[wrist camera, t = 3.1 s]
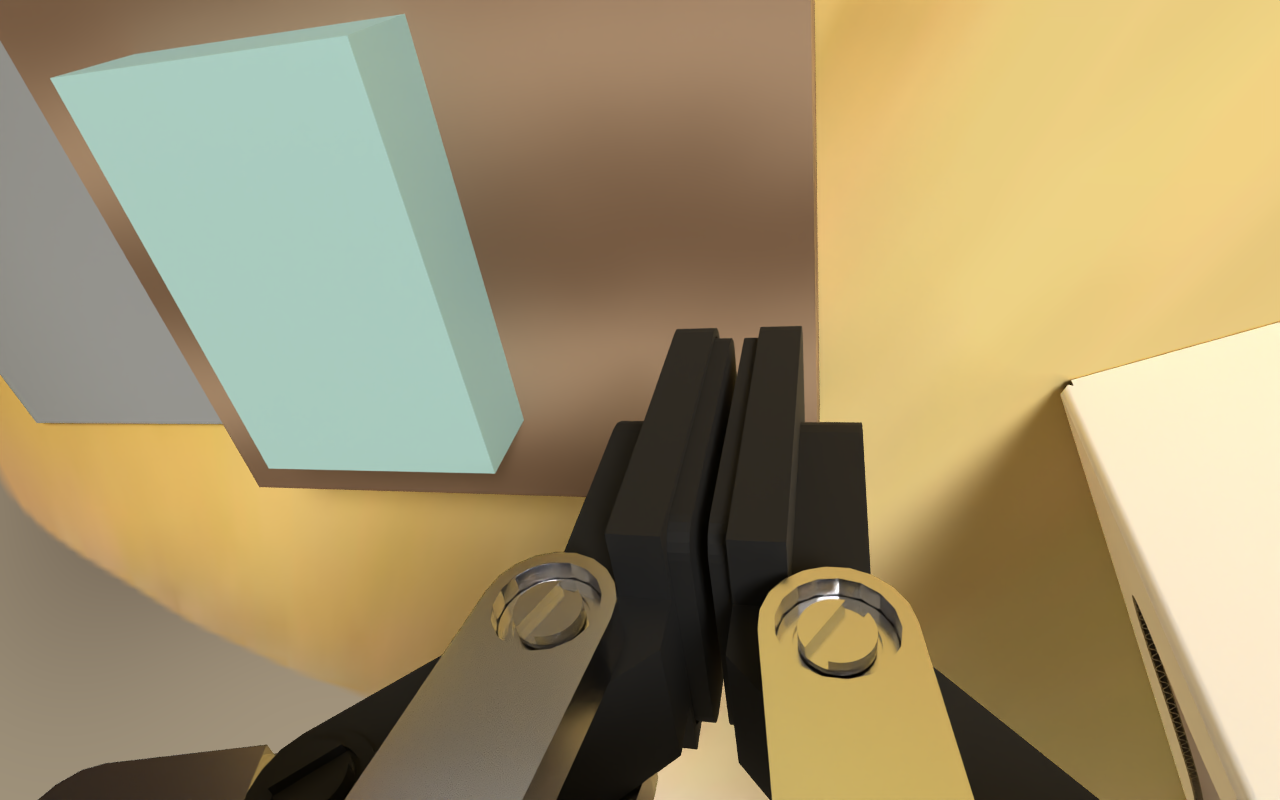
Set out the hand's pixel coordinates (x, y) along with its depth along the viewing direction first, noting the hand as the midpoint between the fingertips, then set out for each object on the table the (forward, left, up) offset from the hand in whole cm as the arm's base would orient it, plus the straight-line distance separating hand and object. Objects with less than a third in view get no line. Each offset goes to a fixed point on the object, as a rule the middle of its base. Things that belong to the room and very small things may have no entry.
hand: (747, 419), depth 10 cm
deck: (-1, -7, -9) cm, 12 cm away
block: (-1, -9, -5) cm, 11 cm away
